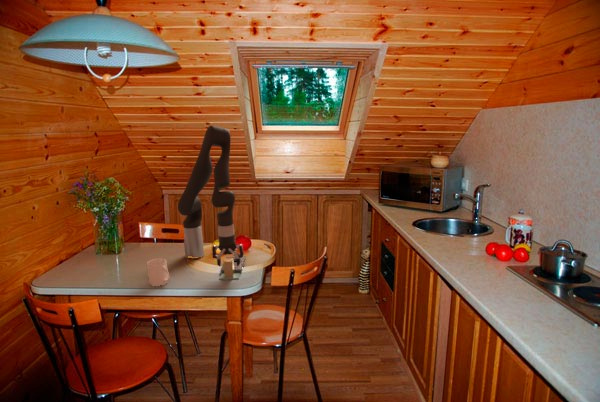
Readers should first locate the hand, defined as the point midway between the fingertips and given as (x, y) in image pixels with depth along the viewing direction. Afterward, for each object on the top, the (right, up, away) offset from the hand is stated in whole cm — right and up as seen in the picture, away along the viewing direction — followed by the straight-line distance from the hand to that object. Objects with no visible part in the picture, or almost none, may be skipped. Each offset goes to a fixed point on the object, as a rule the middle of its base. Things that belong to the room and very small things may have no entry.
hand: (229, 265), depth 200 cm
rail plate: (0, -2, +13) cm, 13 cm away
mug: (-31, -8, -3) cm, 32 cm away
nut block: (0, -5, +1) cm, 5 cm away
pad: (0, -5, +1) cm, 6 cm away
